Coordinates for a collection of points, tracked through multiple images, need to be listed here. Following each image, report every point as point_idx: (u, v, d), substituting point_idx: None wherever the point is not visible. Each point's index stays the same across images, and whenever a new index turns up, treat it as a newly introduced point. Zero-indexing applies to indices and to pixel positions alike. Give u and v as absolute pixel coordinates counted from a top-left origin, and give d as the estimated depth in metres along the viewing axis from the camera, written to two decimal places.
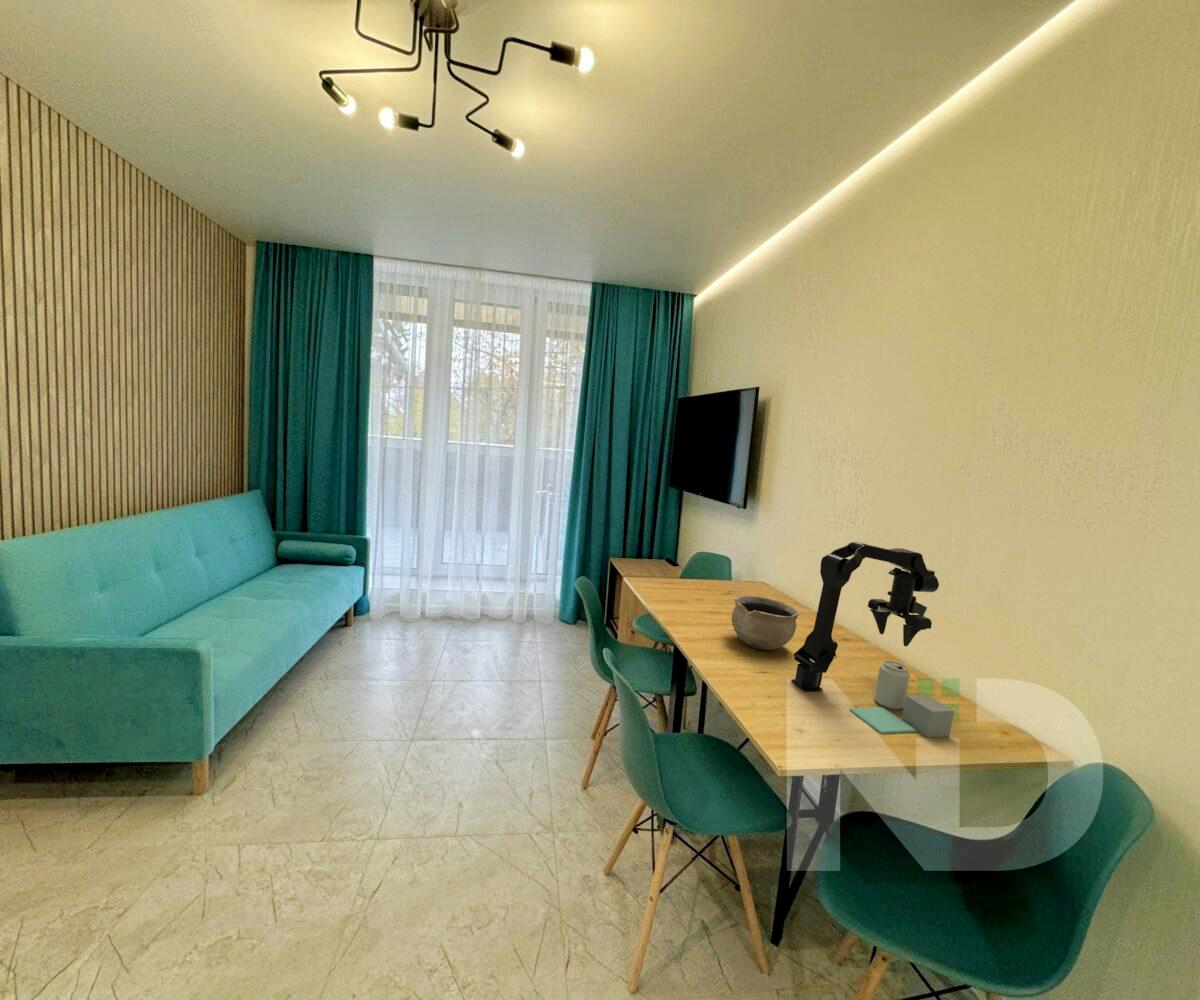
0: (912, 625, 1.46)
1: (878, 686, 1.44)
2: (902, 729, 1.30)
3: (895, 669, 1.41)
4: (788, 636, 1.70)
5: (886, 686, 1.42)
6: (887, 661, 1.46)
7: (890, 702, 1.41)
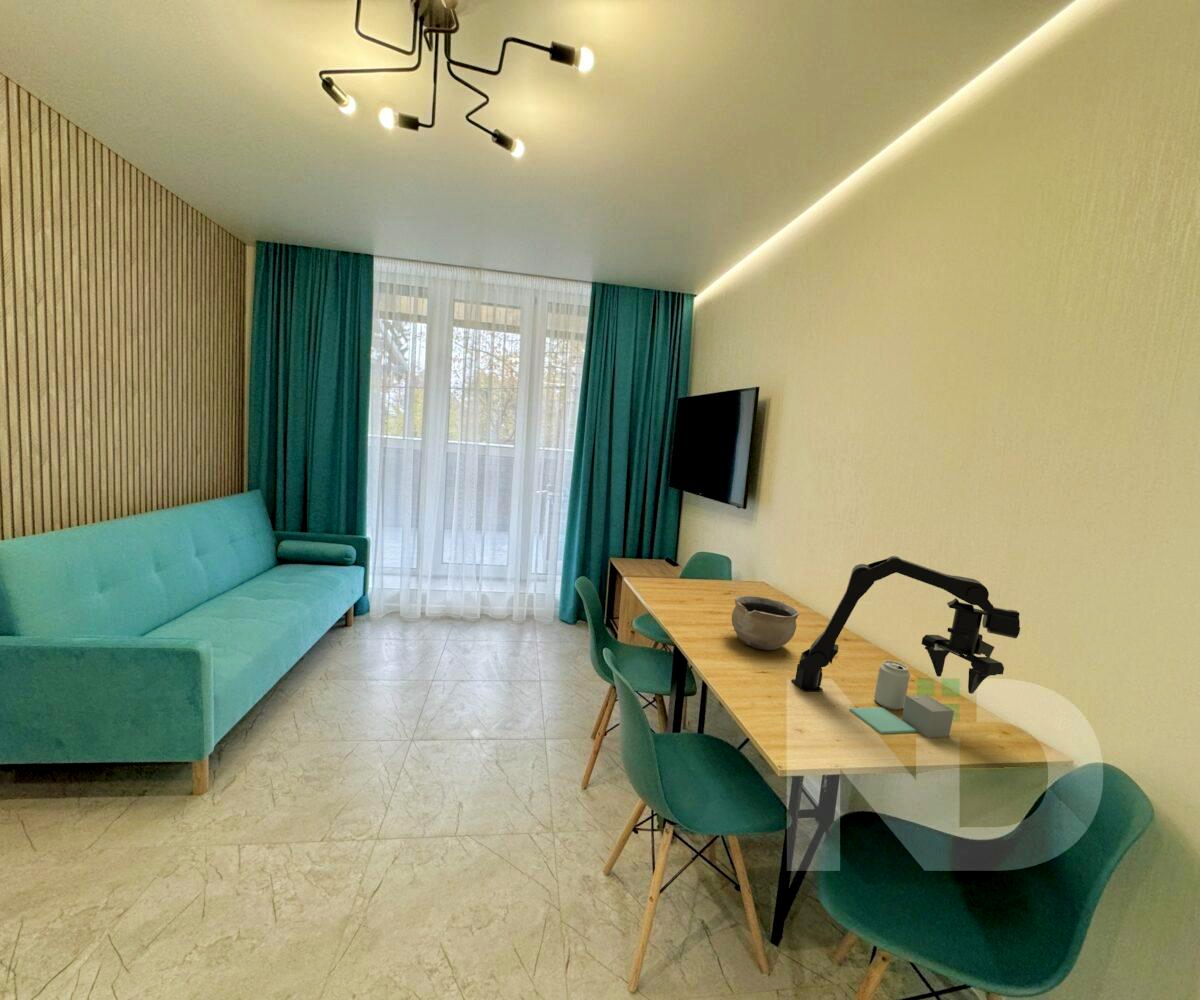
0: (981, 670, 1.24)
1: (878, 686, 1.44)
2: (902, 729, 1.30)
3: (895, 669, 1.41)
4: (788, 636, 1.70)
5: (886, 686, 1.42)
6: (887, 661, 1.46)
7: (890, 702, 1.41)
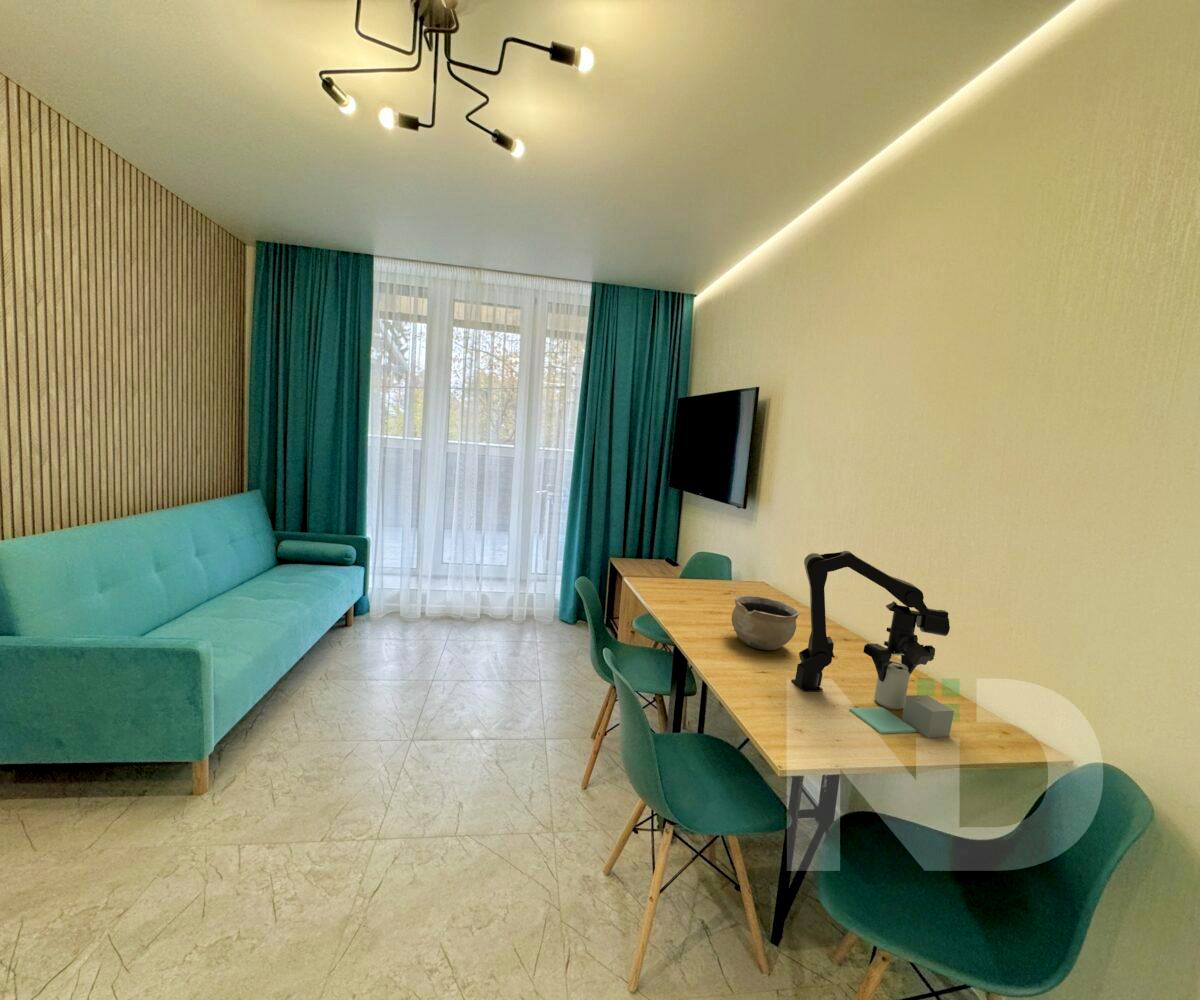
0: None
1: (878, 686, 1.44)
2: (902, 729, 1.30)
3: (895, 669, 1.41)
4: (788, 636, 1.70)
5: (886, 686, 1.42)
6: None
7: (890, 702, 1.41)
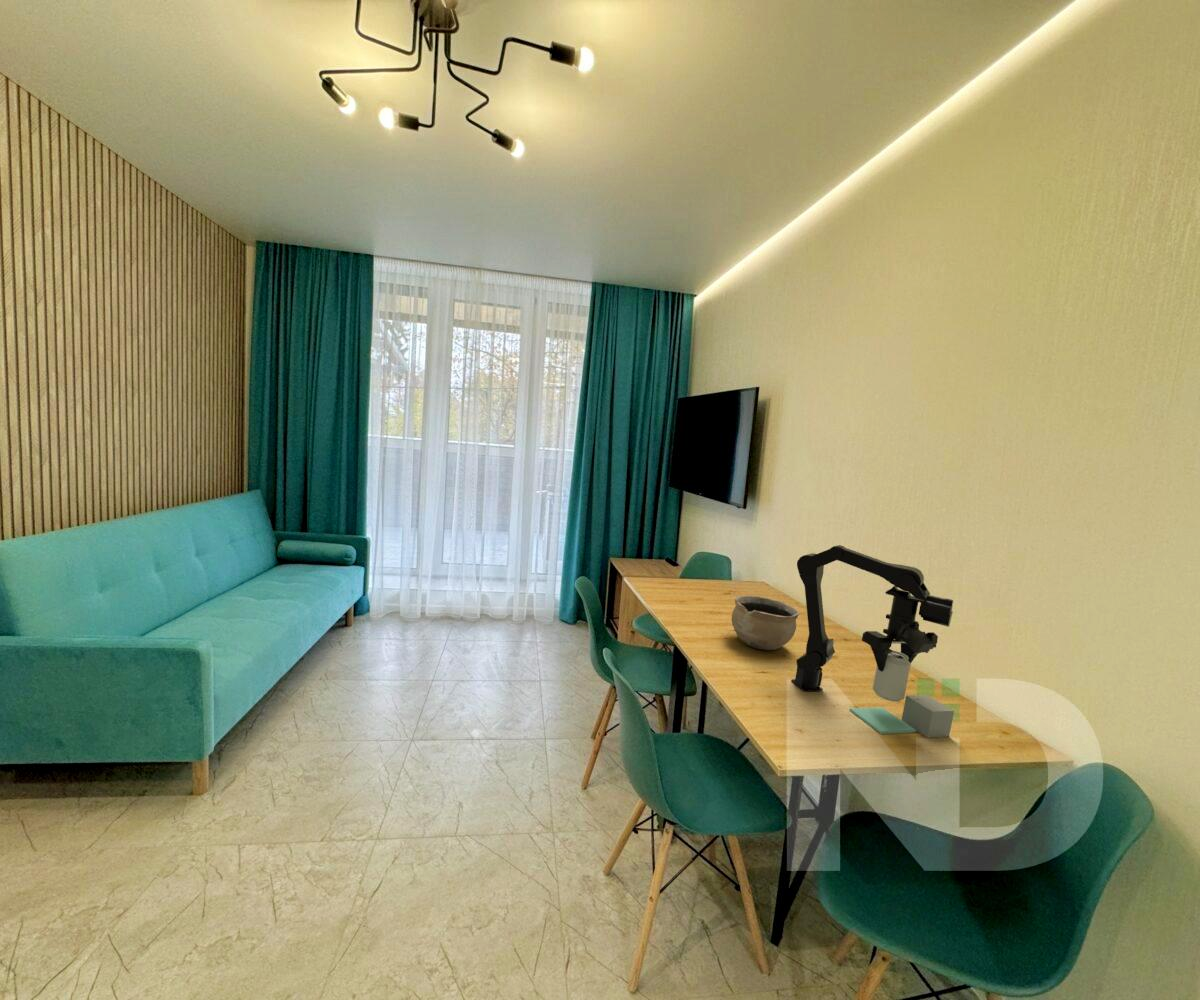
0: None
1: (877, 677, 1.36)
2: (902, 729, 1.30)
3: (895, 658, 1.33)
4: (788, 636, 1.70)
5: (885, 676, 1.33)
6: None
7: (890, 693, 1.33)
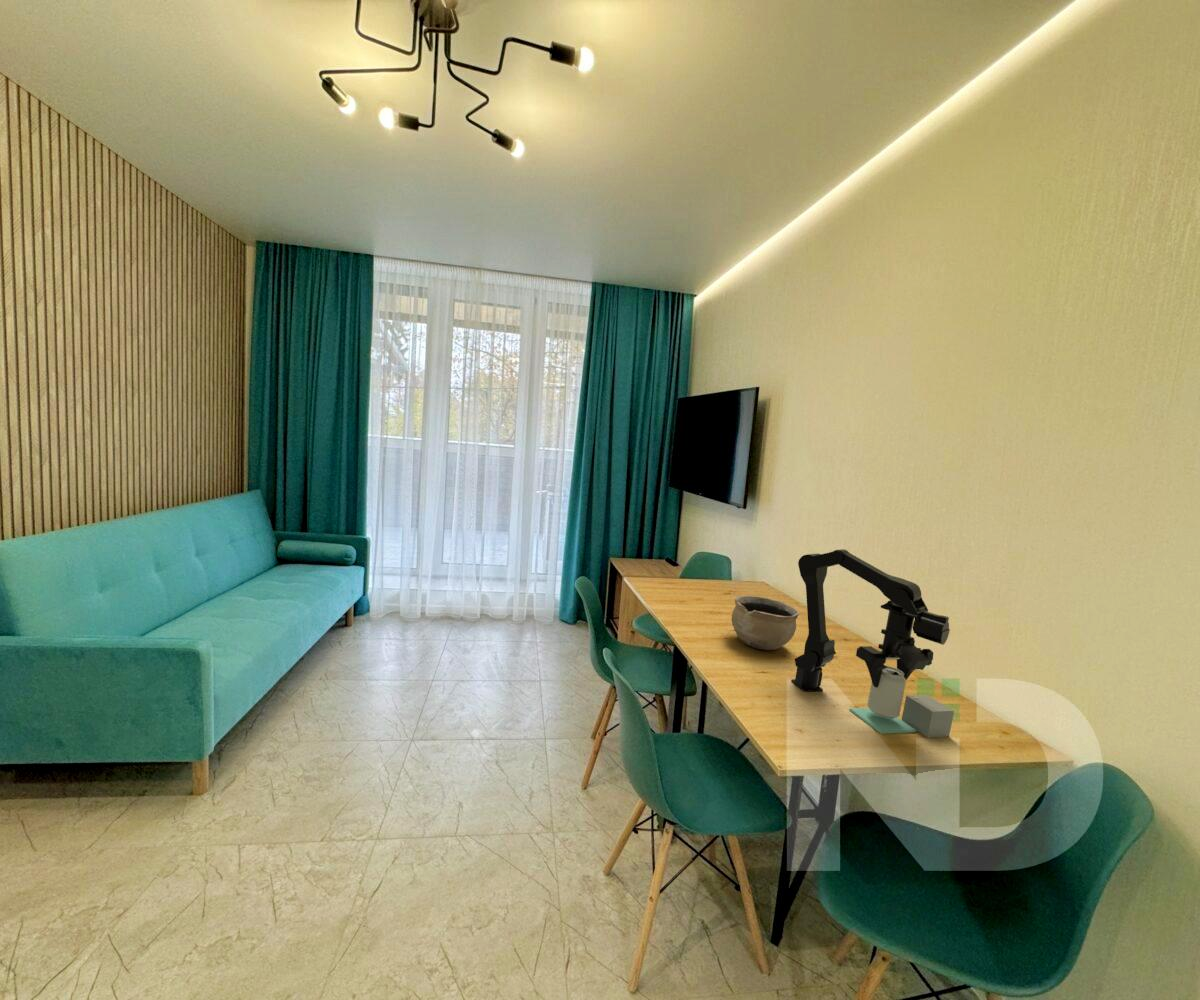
0: None
1: (872, 693, 1.33)
2: (902, 729, 1.30)
3: (890, 675, 1.30)
4: (788, 636, 1.70)
5: (880, 693, 1.31)
6: None
7: (885, 710, 1.30)
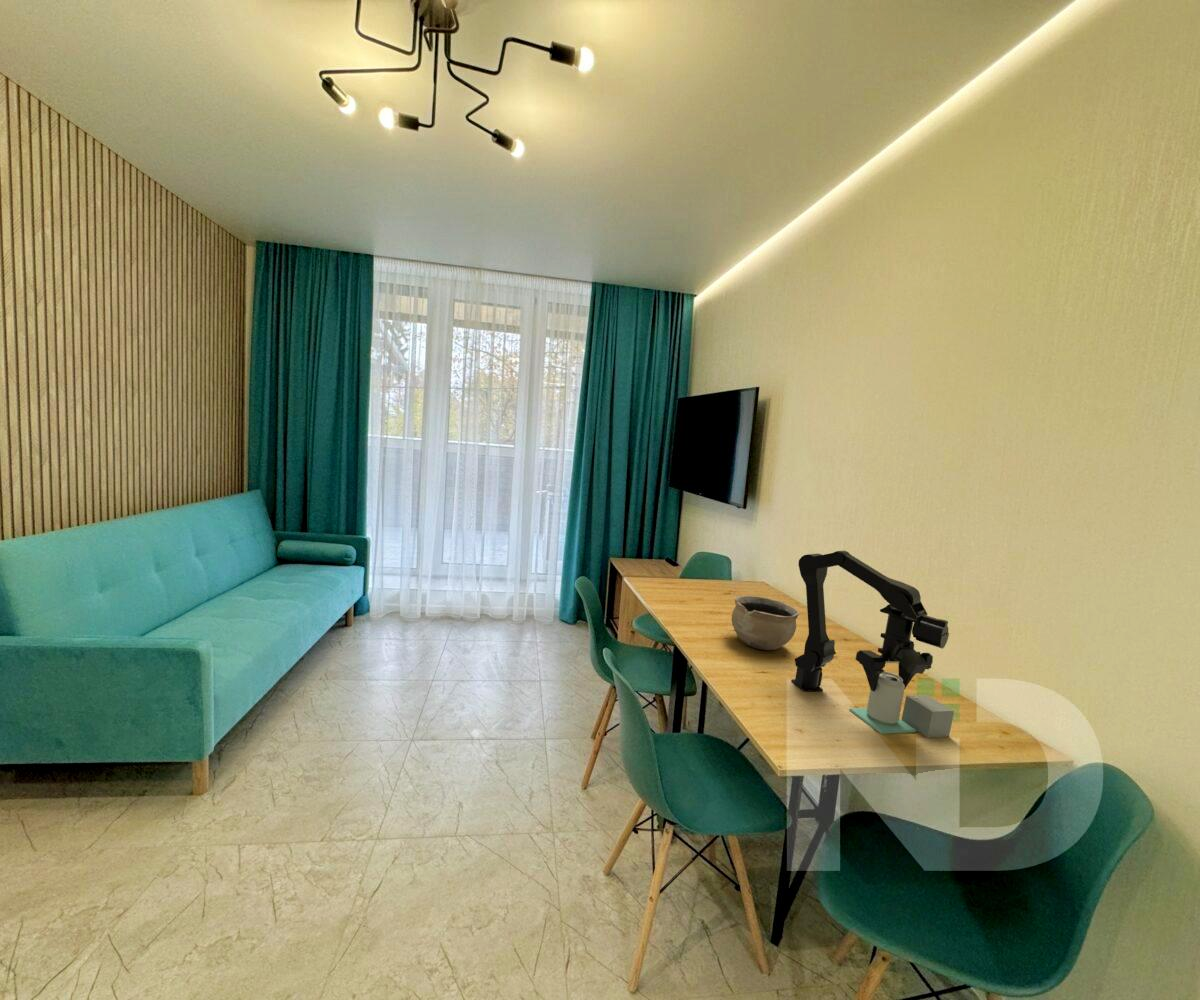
0: None
1: (871, 699, 1.34)
2: (902, 729, 1.30)
3: (889, 681, 1.30)
4: (788, 636, 1.70)
5: (879, 699, 1.31)
6: None
7: (884, 717, 1.31)
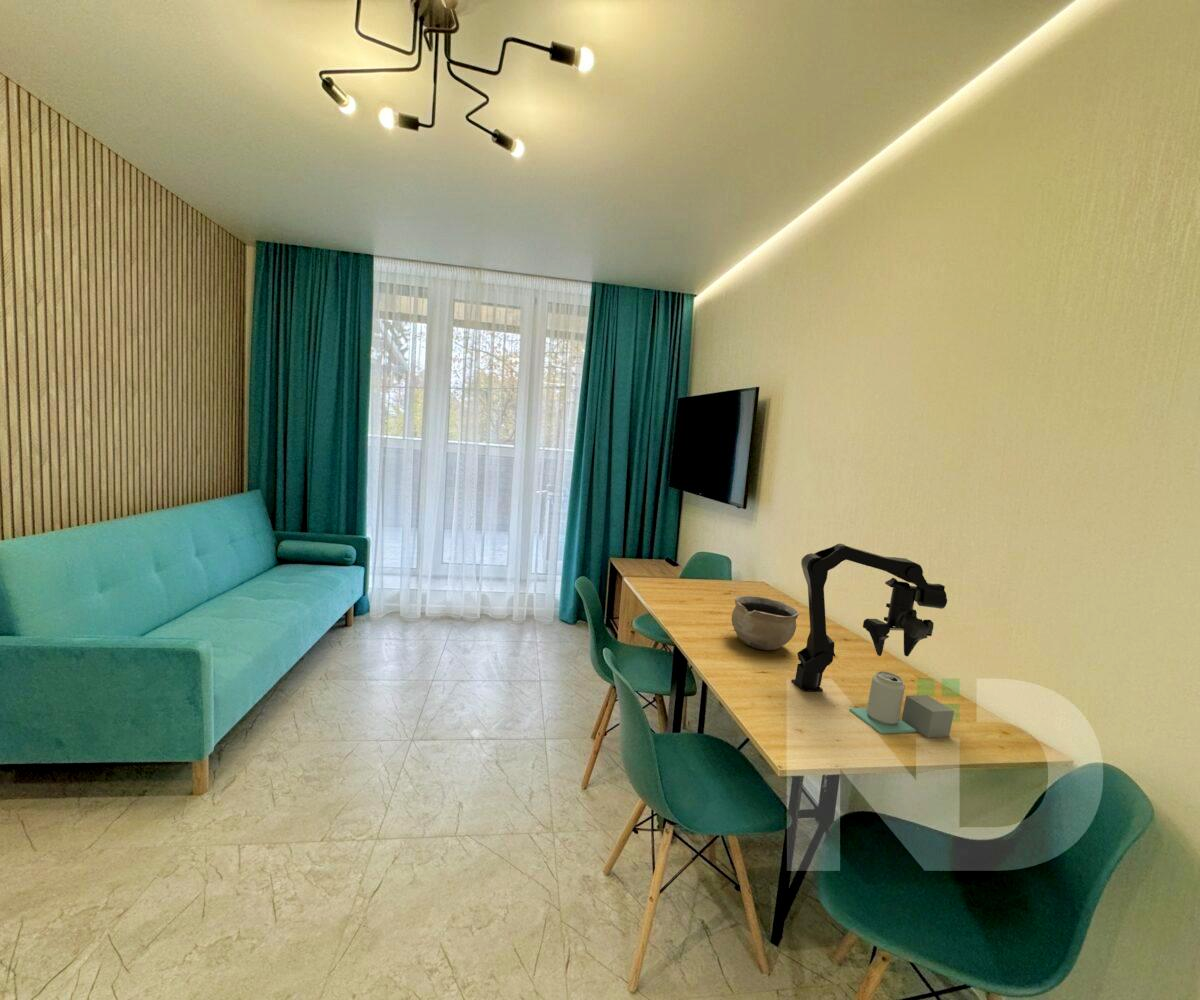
0: None
1: (871, 699, 1.34)
2: (902, 729, 1.30)
3: (889, 681, 1.30)
4: (788, 636, 1.70)
5: (879, 699, 1.31)
6: (880, 672, 1.35)
7: (884, 717, 1.31)
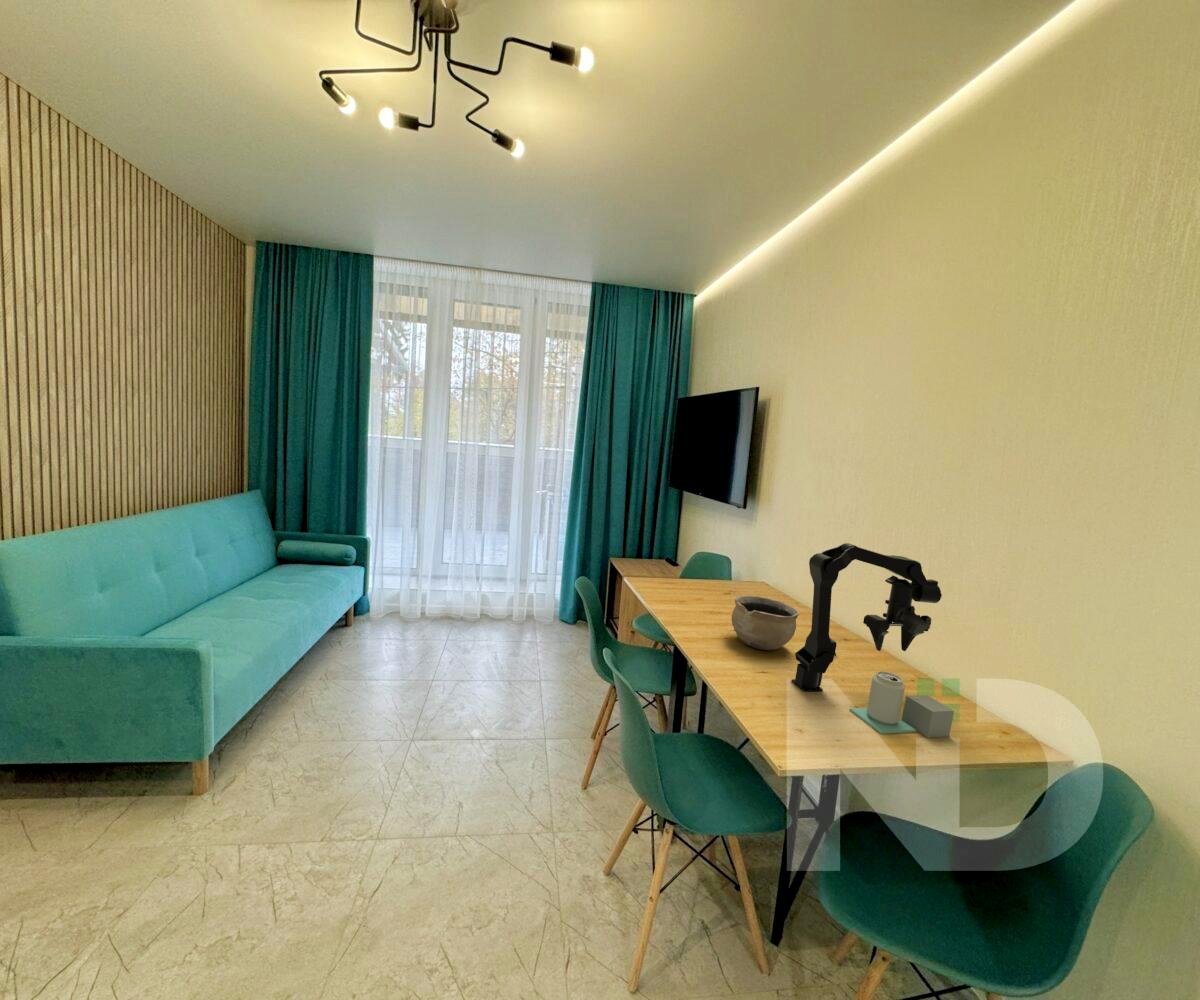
0: None
1: (871, 699, 1.34)
2: (902, 729, 1.30)
3: (889, 681, 1.30)
4: (788, 636, 1.70)
5: (879, 699, 1.31)
6: (880, 672, 1.35)
7: (884, 717, 1.31)
